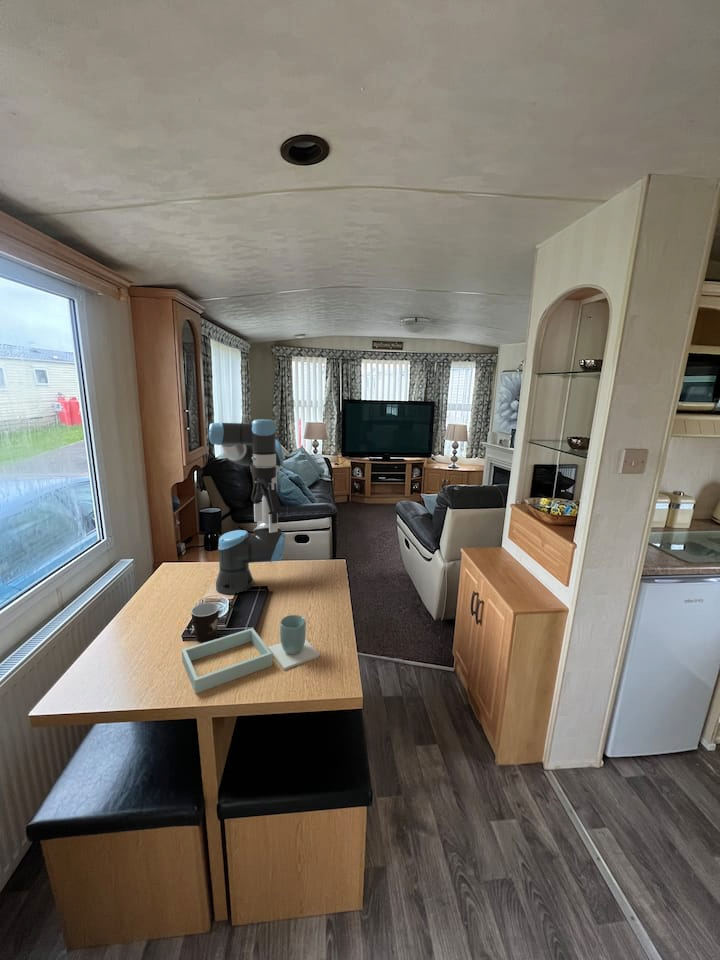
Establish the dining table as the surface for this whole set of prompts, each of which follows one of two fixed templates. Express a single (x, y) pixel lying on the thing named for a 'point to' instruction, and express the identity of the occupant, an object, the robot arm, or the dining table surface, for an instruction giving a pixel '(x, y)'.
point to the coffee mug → (205, 621)
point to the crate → (230, 671)
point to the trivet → (293, 655)
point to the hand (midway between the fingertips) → (265, 526)
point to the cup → (293, 633)
